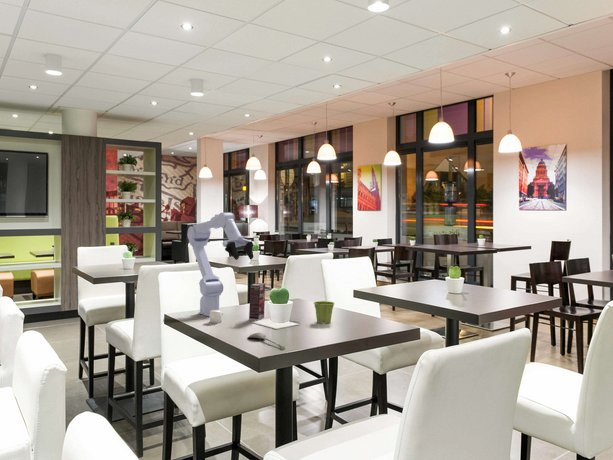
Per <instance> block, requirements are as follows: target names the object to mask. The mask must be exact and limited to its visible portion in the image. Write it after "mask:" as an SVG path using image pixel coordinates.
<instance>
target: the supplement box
mask: <svg viewBox="0 0 613 460" xmlns="http://www.w3.org/2000/svg"><path fill="white" fill-rule="evenodd" d="M265 295H266V283H261V282H256V283H253V284H251V285H250V287H249V307H248V308H249V313H248V320H249V321H251V322H253V321H258V320H263V319H265V302H266V301H265V299H266V298H265V297H266V296H265Z"/></svg>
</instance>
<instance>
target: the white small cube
mask: <svg viewBox="0 0 613 460" xmlns="http://www.w3.org/2000/svg"><path fill="white" fill-rule="evenodd" d="M222 313H223V311H222V310H221V309H219V310H211V311H210V316H209V323H210V324H221V323H222V316H223V314H222Z"/></svg>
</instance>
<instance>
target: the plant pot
mask: <svg viewBox="0 0 613 460" xmlns="http://www.w3.org/2000/svg"><path fill="white" fill-rule="evenodd" d="M313 304H314V308H315V316H316V317H315V318H316V322H317V323H319V324H327V323H328V324H330V323H331V322H332V315H333V309H334V305H335V302H333V301H325V300H319V301H314V302H313Z"/></svg>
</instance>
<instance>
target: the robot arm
mask: <svg viewBox="0 0 613 460" xmlns="http://www.w3.org/2000/svg"><path fill="white" fill-rule="evenodd" d="M235 221H236V216H235V214H234V213H233V212H220V213H218V214H214V216H212V217H211V218H210V220H207V221H204V222H203V221H202V222H201V223H196V224H192V226H189V227H188V229H187V238H188V243H189V245H190V246H191V247H192V250H193V253H194V256H195V259H196V261H197V262H196V263H197V264H198V268H199V271H200V275H201V277H202V278H201V279H200V280H199V282H198V284H199V291H200V293H201V297H200V300H199V311H198V314H199V315H203V316H206V317H210V311H211V310H220V296H221V294H223V291H224V284H223V281H222V280H221V279H220V277H219V276H218V275H216V274H214V273H213V269H212V266H211V264H210V261H209V257H208V255H207V253H206V249H205V247H206V246H207V245H208V242H209V239H210V238H211V237H210V236H211V234H212V233H211V232H212V231H211V229H214V230H215V229H216V230H217V229H221V228H222V229H223V231H224V232H225V235H226V237H227V239H225V240H223V241H222V243H221V244H222V246H223V247H225V248H224V250H225V252H227V253H228V254H229V255H231V256H232V257H233V259H234V260H235V261H238V260H239V259H240V255H239V252H238V250H237V248H240V247H243V246H244V249H243V252H244V253H246V255H247V257H248V259H249V260H253V259H254V250H253V249H254V248H253V246H254V243H253V241H252V240H249V239H246V238H244V235H242V234H241V232H240V229H239V228H238V226H237V224H236V222H235ZM222 315H224V313H223V312H222Z"/></svg>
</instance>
